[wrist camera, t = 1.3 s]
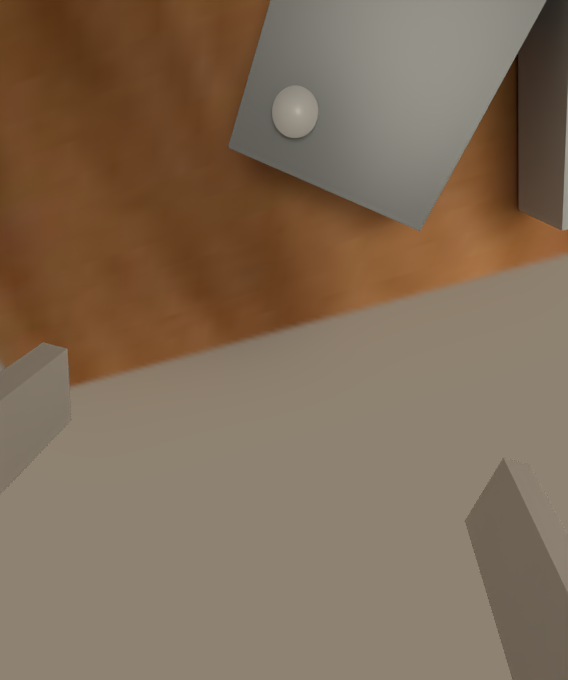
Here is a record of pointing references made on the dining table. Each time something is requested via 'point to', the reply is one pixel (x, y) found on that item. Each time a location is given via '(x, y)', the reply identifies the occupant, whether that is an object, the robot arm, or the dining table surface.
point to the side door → (544, 117)
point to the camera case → (377, 93)
